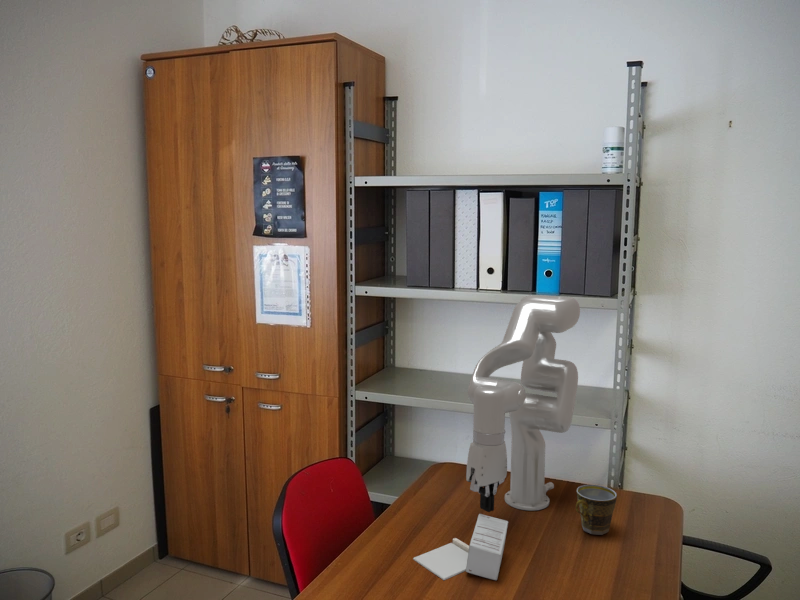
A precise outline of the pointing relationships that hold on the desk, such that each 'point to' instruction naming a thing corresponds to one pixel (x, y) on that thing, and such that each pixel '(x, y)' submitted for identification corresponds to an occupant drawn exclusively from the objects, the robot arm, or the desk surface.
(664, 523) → the desk surface
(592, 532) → the ceramic cup
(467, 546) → the strip
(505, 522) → the supplement box
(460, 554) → the mat
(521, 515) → the desk surface
